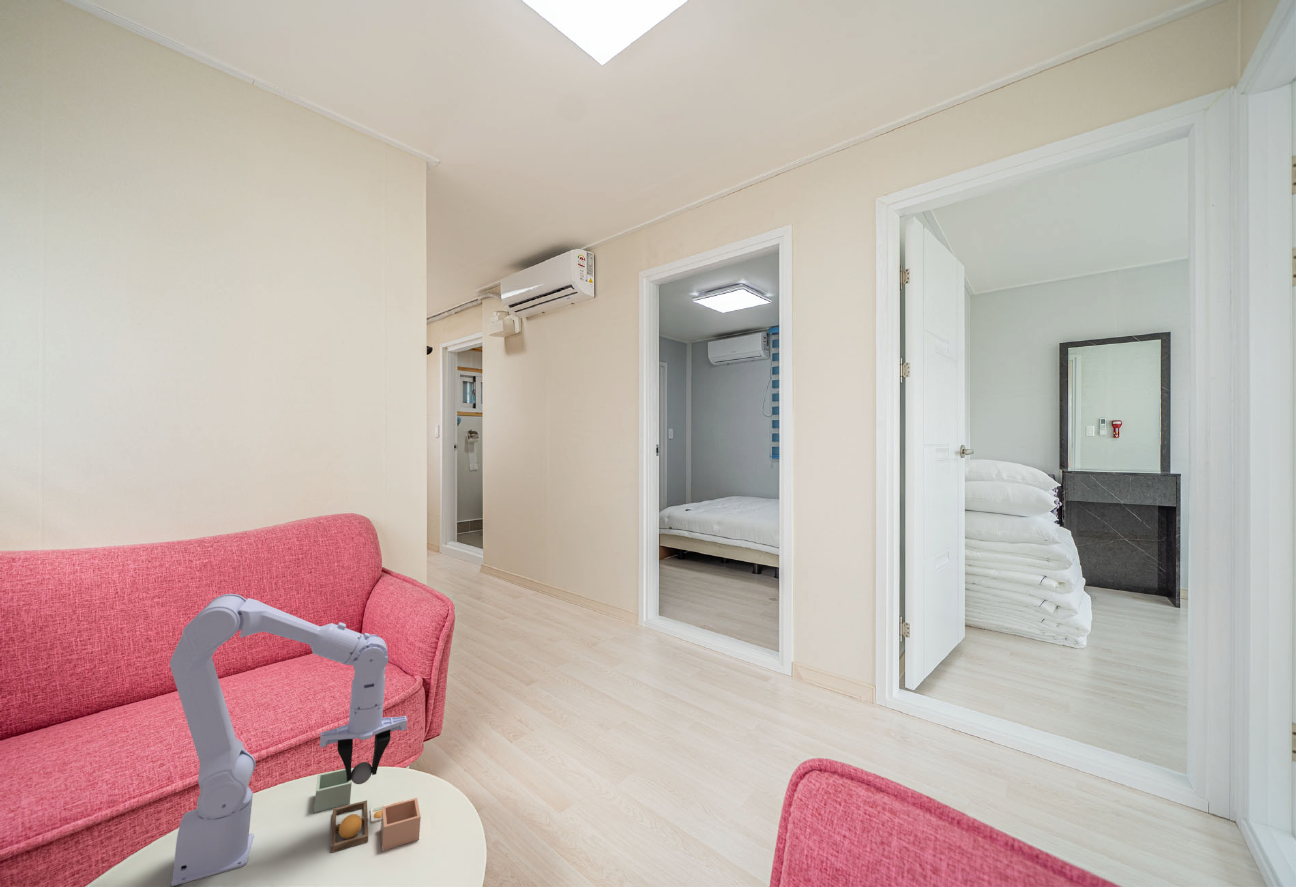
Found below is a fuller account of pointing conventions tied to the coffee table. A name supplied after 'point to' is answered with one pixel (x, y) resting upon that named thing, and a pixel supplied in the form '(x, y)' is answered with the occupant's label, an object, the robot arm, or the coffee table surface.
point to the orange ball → (350, 826)
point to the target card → (378, 812)
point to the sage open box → (332, 790)
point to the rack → (336, 827)
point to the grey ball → (361, 773)
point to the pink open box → (400, 823)
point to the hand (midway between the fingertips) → (361, 775)
